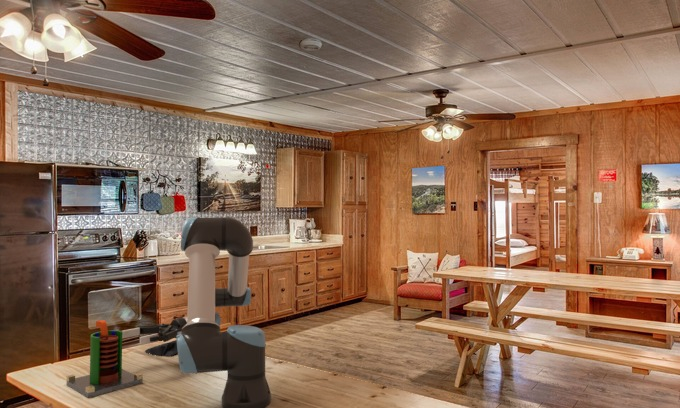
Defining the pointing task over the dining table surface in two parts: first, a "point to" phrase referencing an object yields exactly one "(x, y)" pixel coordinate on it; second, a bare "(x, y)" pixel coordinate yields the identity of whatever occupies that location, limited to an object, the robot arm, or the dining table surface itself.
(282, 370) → the dining table surface
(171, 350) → the dark slate chunk
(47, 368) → the dining table surface
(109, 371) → the motor
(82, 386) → the plate
